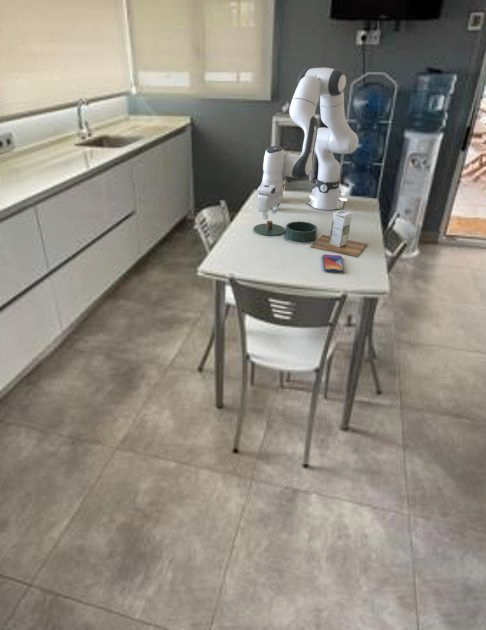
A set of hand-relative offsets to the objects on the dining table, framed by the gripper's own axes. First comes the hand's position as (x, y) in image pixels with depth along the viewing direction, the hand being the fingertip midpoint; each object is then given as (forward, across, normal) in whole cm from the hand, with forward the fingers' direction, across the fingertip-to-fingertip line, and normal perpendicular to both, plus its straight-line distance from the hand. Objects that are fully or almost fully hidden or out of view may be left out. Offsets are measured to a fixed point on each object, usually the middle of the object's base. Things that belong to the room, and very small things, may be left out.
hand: (269, 216), depth 205 cm
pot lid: (+7, 0, 0) cm, 7 cm away
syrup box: (+7, 0, +33) cm, 34 cm away
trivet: (+7, 0, +34) cm, 34 cm away
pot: (+7, 0, +16) cm, 17 cm away
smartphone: (+8, +20, +37) cm, 43 cm away
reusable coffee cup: (+7, -44, -18) cm, 48 cm away
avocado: (+7, -30, -12) cm, 33 cm away
